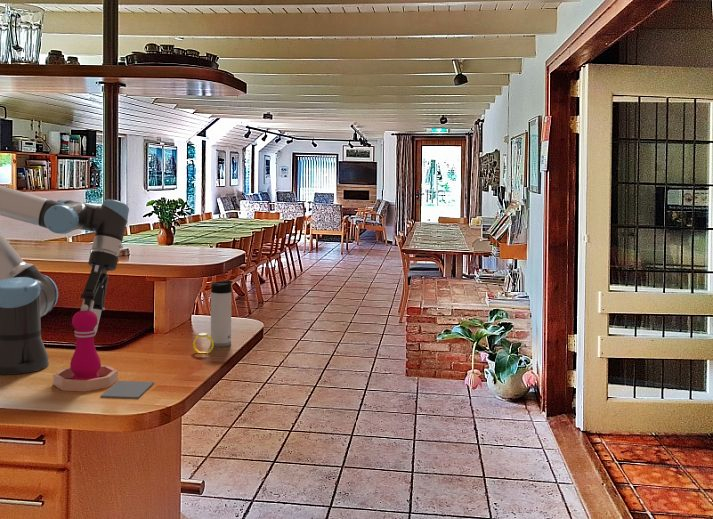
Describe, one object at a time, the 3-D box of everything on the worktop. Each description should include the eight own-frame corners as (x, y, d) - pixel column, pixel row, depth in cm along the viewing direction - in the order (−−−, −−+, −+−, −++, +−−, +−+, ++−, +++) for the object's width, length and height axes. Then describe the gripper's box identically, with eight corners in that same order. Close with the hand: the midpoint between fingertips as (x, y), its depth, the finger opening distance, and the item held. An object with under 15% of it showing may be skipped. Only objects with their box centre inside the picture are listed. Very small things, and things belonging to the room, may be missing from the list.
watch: (192, 355, 207) (191, 335, 206) (195, 352, 210) (193, 333, 209) (212, 354, 207) (211, 334, 206) (215, 352, 210) (213, 332, 209)
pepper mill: (85, 376, 182) (83, 300, 179) (107, 380, 179) (106, 303, 177) (64, 384, 175) (62, 305, 173) (87, 388, 172) (85, 308, 170)
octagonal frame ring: (45, 389, 170) (45, 379, 170) (70, 373, 184) (70, 364, 184) (102, 391, 170) (102, 381, 170) (123, 375, 184) (123, 366, 184)
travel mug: (234, 345, 218) (235, 282, 216) (214, 347, 215) (214, 283, 212) (228, 341, 224) (228, 279, 221) (208, 343, 220) (208, 280, 218)
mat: (100, 397, 166) (100, 395, 166) (118, 382, 178) (118, 380, 178) (138, 398, 166) (138, 397, 166) (154, 383, 178) (154, 382, 178)
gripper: (112, 244, 186) (94, 322, 180) (123, 266, 210) (107, 336, 204) (83, 239, 185) (64, 318, 179) (97, 262, 209) (81, 332, 203)
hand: (87, 328), depth 191 cm, fingers open, 13 cm apart
